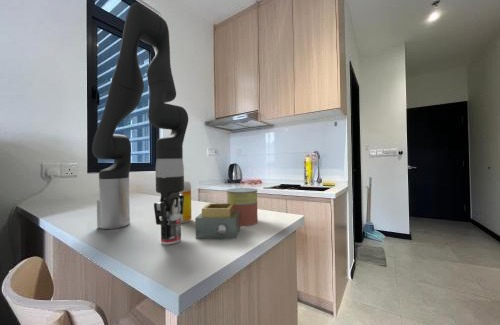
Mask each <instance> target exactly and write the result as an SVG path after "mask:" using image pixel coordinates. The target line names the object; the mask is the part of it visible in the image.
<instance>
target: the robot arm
mask: <svg viewBox="0 0 500 325" xmlns="http://www.w3.org/2000/svg"><path fill="white" fill-rule="evenodd" d="M167 23H168V22H166V20H165V19H164V18H163V17H162V16H160V14H157V13H156V12H155V11H152V10H151V9H150V8H148V7H147V6H145V5H143V4H142V3H140V2H138V1H137V2H136V1H135V2H134V3H131V5H130V7H129V8H128V11H127V14H126V17H125V21H124V25H123V26H124V27H123V32H122V38H121V43H120V47H119V48H120V50H119V54H118V56H117V61H116V66H115V69H114V72H113V75H112V78H111V82H110V85H109V89H108V95H107V99H106V102H105V106H104V109H103V113H102V115H101V119H100V121H99V124H98V126H97V129H96V131H95V134H94V137H93V141H92V143H91V144H92V145H91V147H92V148H91V151H92V154H93V156H94V158H96V159H99V160H113V163H112V165H110V166H109V167H107V168H104V169H101V170H100V171H99V172H98V188H99V189H98V190H99V191H98V196H99V197H98V198H99V199H98V200H96V221H97V222H96V223H97V224H96V225H97V226H96V227H97V228H98V229H102V230H110V229H111V230H113V229H118V228H123V227H126V226H128V225H130V224H131V215H130V214H131V212H130V210H131V206H130V205H131V204H130V203H131V202H130V171H131V160H132V158H131V157H132V144H131V140H130V139H129V137H128V136H127V135H124V134H119V133H117V134H116V133H115V131H116V130H117V128H118V126H119V124H121V122H122V121H123V120H124V119H125V118H127V117H128V116H129V115H130V114H132V113H133V112H134V111H135V110H136V109H137V108H138V107H139V105H140V102H141V100H142V96H143V93H144V89H145V82H144V79H143V78H144V77H143V75H142V71H141V68H140V64H139V63H140V62H139V59H138V47H139V43H140V41H141V42H142V43H144V44H147V45H149V46H151V47H152V48H153V50H154V53H155V55H154V57H153V58H152V60H151V61H150V63H149V64H148V67H147V69H146V76H147V82H148V86H149V95H150V96H149V106H148V114H147V117H148V121H149V123H150V124H151V125H152V127H154V128H157V129H162V130H170V132H171V133H170V134H169V136H167V137H160V138H158V139H156V142H155V158H156V159H155V160H156V161H155V192H156V193H158V194H160V199H159V202H154V203H153V210H154V218H155V225H156V226H157V225H159V226H160V230H161V229H162V239H169V238H170V237H171V225H170V222H171V217H172V216H173V214H174V207H176V206H178V212H177V213H178V214H180V216H181V214H183V205H184V195H179V192H182V191H183V190H184V181H185V166H184V160H183V158H184V156H183V152H184V151H183V150H184V149H183V145H184V140H185V136H186V131H187V128H188V126H189V125H188V124H189V114H188V112H187V110H186V108H184V107H183V106H180V105H175V104H171V103H170V102H172V101H174V100H175V99H176V97H177V89H176V86H175V81H174V77H173V73H172V72H173V71H172V67H171V46H170V45H171V44H170V31H169V27H168V24H167ZM166 212H169V213H166ZM167 216H168V218H167Z"/></svg>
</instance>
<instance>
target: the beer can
mask: <svg viewBox="0 0 500 325" xmlns="http://www.w3.org/2000/svg"><path fill="white" fill-rule="evenodd" d="M179 195H184V205H183V214H181V224H184V223H189V222H190V221H191V220H192V185H191V182H190V181H188V180H187V181H185V180H184V190H183V191H182V192H179Z"/></svg>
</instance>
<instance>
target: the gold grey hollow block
mask: <svg viewBox="0 0 500 325" xmlns="http://www.w3.org/2000/svg"><path fill="white" fill-rule="evenodd" d="M194 219H195V224H194V225H195V239H220V240H221V239H222V240H223V239H227V240H228V239H229V240H231V239H233V240H236V239H237V238H238V234H239V232H240V231H241V227H240V210H234V203H227V202H226V203H225V202H224V203H220V202H219V203H212V202H211V203H208V204H207V205H205V206H204V207H203V208H201V213H200V214H198V215H197V216H196V217H195V218H194Z"/></svg>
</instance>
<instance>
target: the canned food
mask: <svg viewBox="0 0 500 325" xmlns="http://www.w3.org/2000/svg"><path fill="white" fill-rule="evenodd" d="M226 203H234V210H240V228H244V227H246V228H247V227H252V226H255V225H258V223H259V220H258V189H257V188H254V187H253V188H250V187H236V188H229V189H227V190H226Z"/></svg>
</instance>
